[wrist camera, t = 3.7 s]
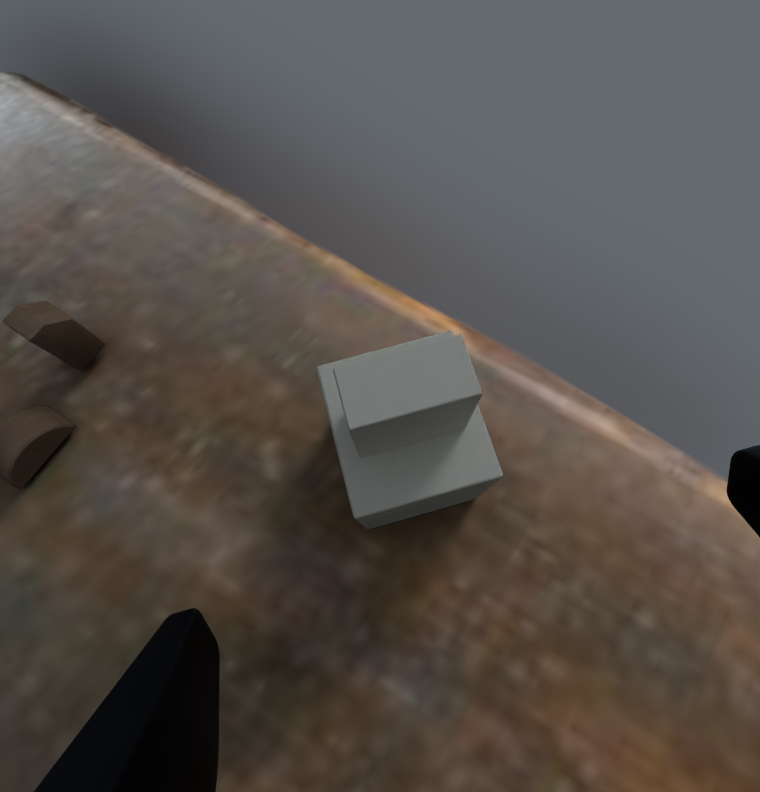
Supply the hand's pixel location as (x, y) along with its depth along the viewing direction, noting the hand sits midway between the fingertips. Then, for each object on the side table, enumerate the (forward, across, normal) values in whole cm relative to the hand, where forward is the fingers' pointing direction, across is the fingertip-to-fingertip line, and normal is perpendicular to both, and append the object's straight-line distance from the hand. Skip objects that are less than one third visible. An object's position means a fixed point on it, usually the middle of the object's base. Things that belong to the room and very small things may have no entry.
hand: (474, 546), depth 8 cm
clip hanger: (+10, 0, +5) cm, 11 cm away
